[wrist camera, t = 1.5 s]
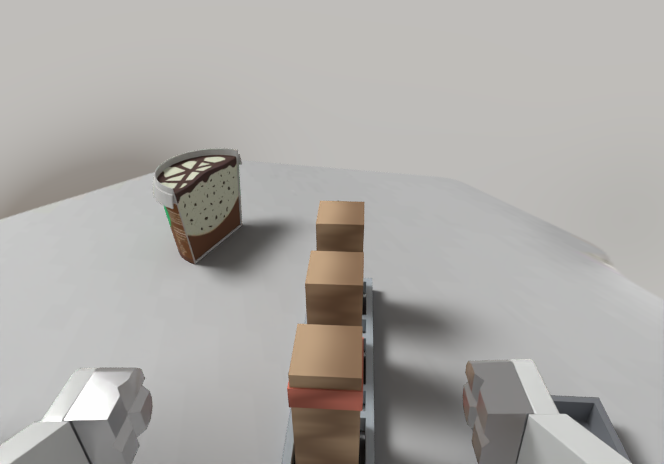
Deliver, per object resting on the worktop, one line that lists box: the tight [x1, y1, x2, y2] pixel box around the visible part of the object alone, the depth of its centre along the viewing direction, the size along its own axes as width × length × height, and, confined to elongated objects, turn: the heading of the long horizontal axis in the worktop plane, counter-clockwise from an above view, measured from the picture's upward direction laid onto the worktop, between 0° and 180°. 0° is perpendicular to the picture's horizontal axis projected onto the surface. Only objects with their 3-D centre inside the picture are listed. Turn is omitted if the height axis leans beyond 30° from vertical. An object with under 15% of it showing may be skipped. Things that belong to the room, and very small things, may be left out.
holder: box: [281, 278, 375, 464], centre depth 39 cm, size 6×22×2 cm, turn 176°
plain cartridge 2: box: [305, 251, 364, 326], centre depth 37 cm, size 4×4×11 cm
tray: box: [551, 395, 631, 462], centre depth 31 cm, size 9×9×2 cm
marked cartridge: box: [287, 324, 364, 464], centre depth 30 cm, size 4×4×11 cm
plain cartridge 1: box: [316, 201, 364, 252], centre depth 43 cm, size 4×4×11 cm
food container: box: [153, 148, 242, 264], centre depth 55 cm, size 12×6×10 cm, turn 155°
